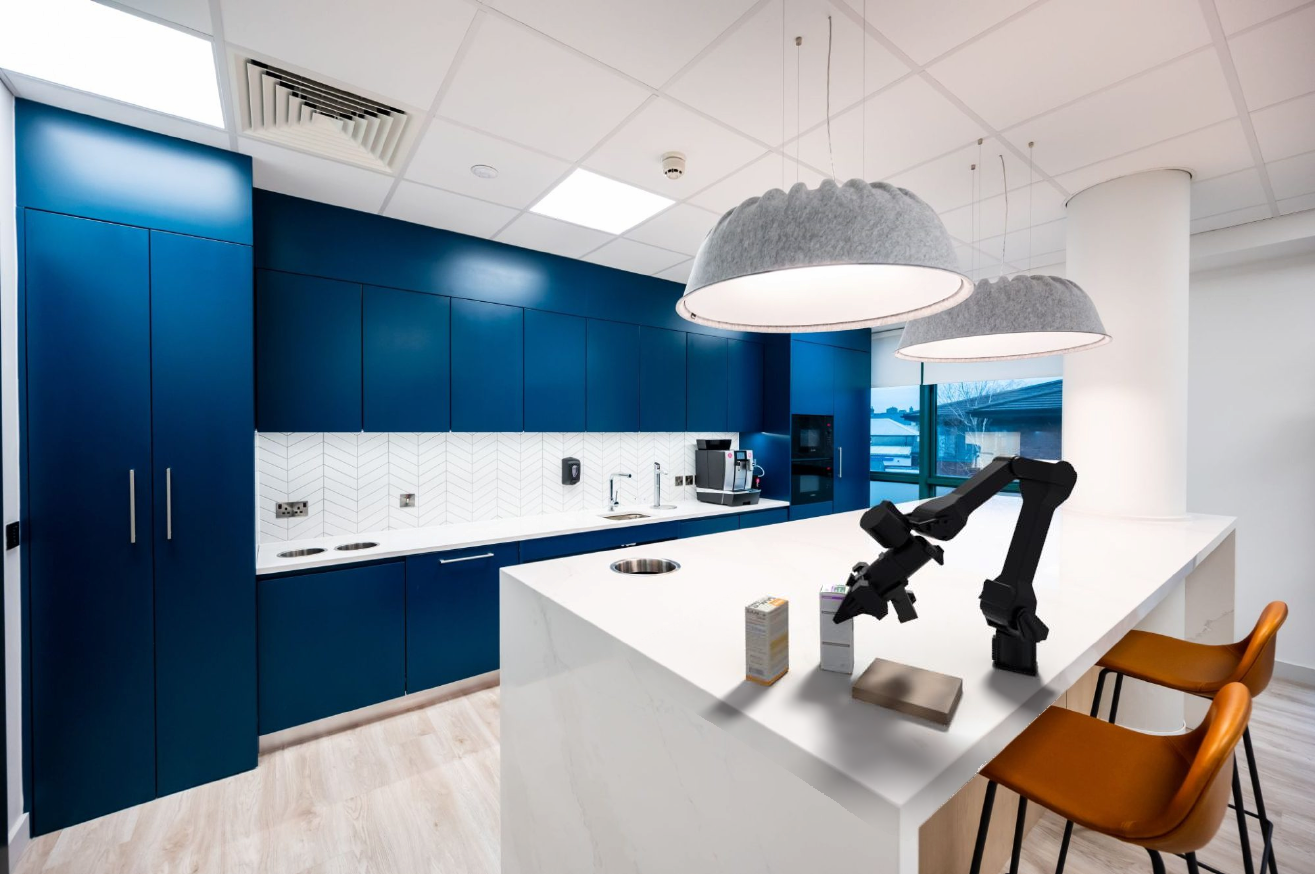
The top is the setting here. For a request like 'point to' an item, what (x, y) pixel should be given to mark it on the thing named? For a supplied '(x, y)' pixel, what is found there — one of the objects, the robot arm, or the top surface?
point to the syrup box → (835, 631)
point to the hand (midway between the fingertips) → (834, 616)
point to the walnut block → (909, 690)
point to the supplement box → (767, 639)
